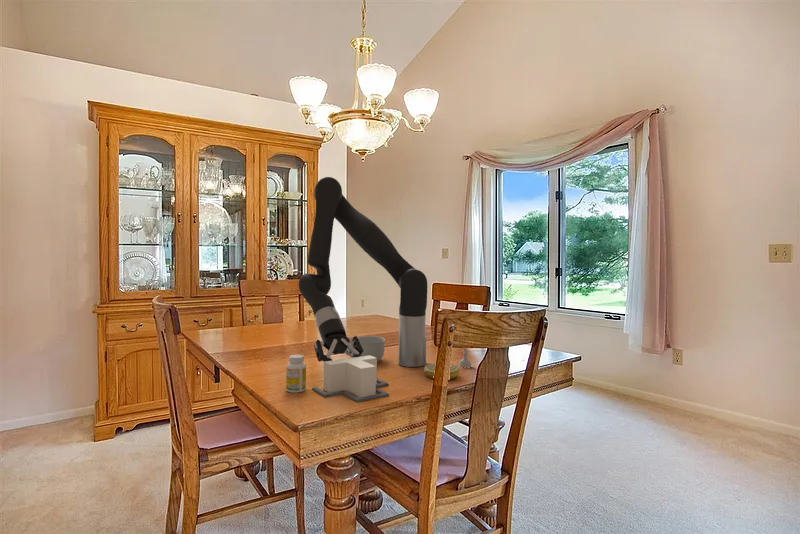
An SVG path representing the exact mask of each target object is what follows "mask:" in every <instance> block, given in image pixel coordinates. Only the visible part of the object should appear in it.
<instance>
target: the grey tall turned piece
mask: <svg viewBox="0 0 800 534" xmlns="http://www.w3.org/2000/svg"><path fill="white" fill-rule="evenodd" d="M467 349H468V348H467ZM467 349H464V348H463V352H462V353H463V358H461V359H460V360H459V362H458V365H457V367H458V366H460V367H471V366H472V363H471V360H470V359H468V357H467V355H468V351H467ZM472 367H473V366H472Z"/></svg>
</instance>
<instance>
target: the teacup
mask: <svg viewBox="0 0 800 534" xmlns="http://www.w3.org/2000/svg"><path fill="white" fill-rule="evenodd" d="M357 338H358V340H359V342H360V344H361V346H362V348H363V350H364V351H363V353H362V354H361V356H359V357H362V356H369V355H370V356H373V357H376V358H377V362H379V361H380V360H381V359H382V358H383V357H384V355H385V345H386V339H385V338H384V337H382V336H381V337H380V336H377V335H362V336H357ZM347 350H349V348H347ZM352 353H353V352H352Z"/></svg>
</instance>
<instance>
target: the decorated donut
mask: <svg viewBox="0 0 800 534" xmlns="http://www.w3.org/2000/svg"><path fill="white" fill-rule="evenodd" d="M450 364H451V367H450V379H452V380H455V379H456V378H457V377H458V376H459V375H460V370H459V369H460V368H459V367H458V365H455V364H453V363H450ZM434 370H435V363H429V364H428V365H427V364H426V366H424V375H425V377H427V378H428V379H431V380H434V379H433V376H434Z"/></svg>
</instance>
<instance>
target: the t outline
mask: <svg viewBox="0 0 800 534" xmlns="http://www.w3.org/2000/svg"><path fill="white" fill-rule="evenodd" d="M387 386H390V383H389V382H386V381H384V380H382V379H380V378H378V377H377V384H376V395H371V396H366V397H361V398H359V397H357V396H356V395H354V394H352V393H350V392H348V391H345V390H342V391H337V392H331V393H328V392H326V391H324V390H323V389H321V388H319V387H318V386H313V387H312V388H311V391H314V392H315V391H316V392H315V393H317V394H319V395H320V394H321V395H320V396H322V397H323V396H324V397H323V398H330V397H335V396H340V394H341V395H344V396H345V397H347V398H349V399H350V400H352V401H354V402H356V403H359V402H365V401H370V400H375V399H380V398H384V397H385V398H386V397H389V396H390V393H388V392H387V391H384V390H382V389H381V388H382V387H387ZM334 395H335V396H334ZM329 396H330V397H329Z"/></svg>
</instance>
